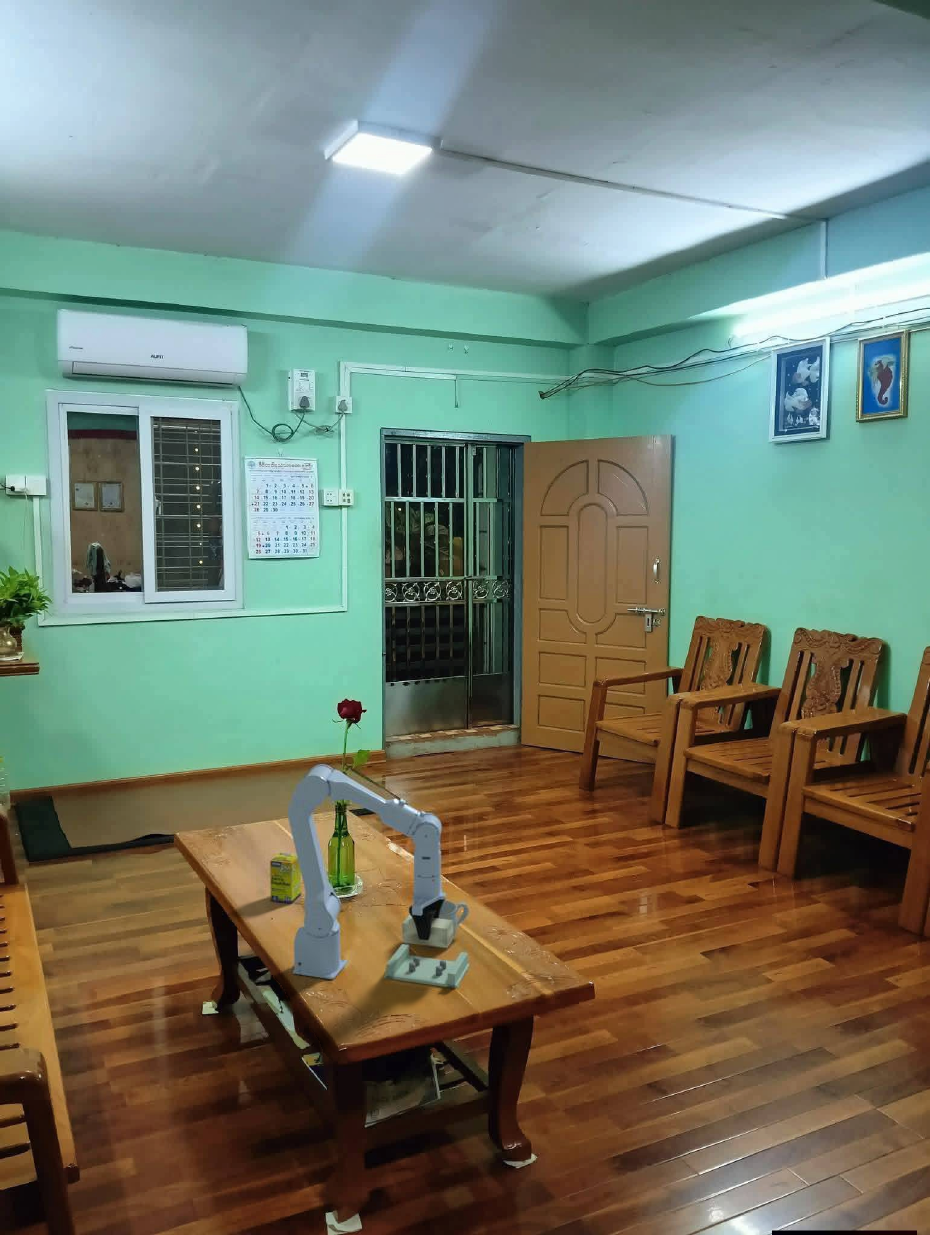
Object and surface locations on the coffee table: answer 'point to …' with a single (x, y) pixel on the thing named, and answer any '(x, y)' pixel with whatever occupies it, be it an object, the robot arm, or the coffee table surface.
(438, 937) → the shelf block
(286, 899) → the supplement box
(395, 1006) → the coffee table surface
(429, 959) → the peg frame
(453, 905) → the teacup
